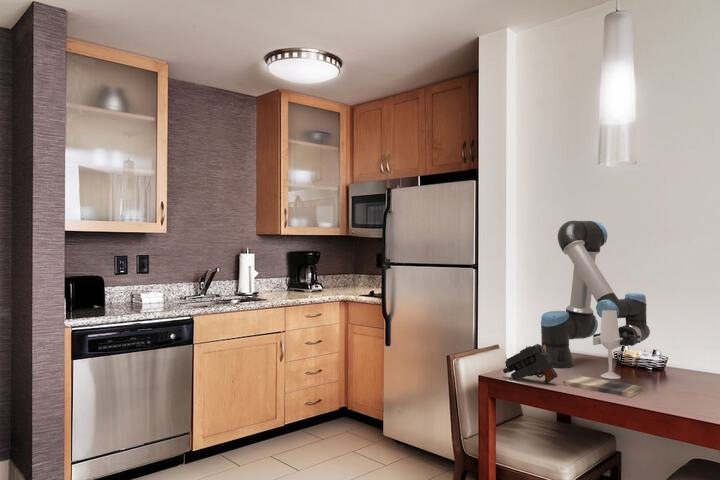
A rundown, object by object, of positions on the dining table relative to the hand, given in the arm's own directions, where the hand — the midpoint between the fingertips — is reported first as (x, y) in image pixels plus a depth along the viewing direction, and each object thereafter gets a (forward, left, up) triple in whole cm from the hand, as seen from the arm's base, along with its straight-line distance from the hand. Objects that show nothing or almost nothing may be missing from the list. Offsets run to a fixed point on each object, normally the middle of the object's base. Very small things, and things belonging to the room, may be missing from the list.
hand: (604, 342), depth 186 cm
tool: (-27, -4, -18) cm, 33 cm away
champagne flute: (0, +5, -13) cm, 14 cm away
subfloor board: (-3, +5, -18) cm, 19 cm away
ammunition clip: (-30, +7, -18) cm, 36 cm away
